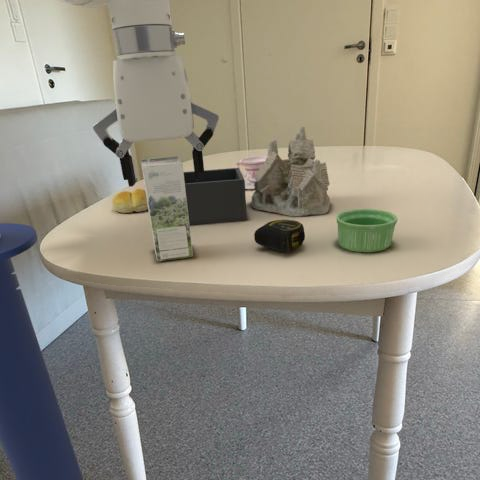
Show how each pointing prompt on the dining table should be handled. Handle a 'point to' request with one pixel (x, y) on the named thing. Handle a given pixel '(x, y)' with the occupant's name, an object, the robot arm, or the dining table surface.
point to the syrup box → (167, 207)
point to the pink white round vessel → (251, 169)
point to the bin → (215, 196)
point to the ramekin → (365, 229)
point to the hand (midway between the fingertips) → (165, 181)
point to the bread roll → (130, 201)
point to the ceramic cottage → (292, 180)
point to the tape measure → (280, 235)
